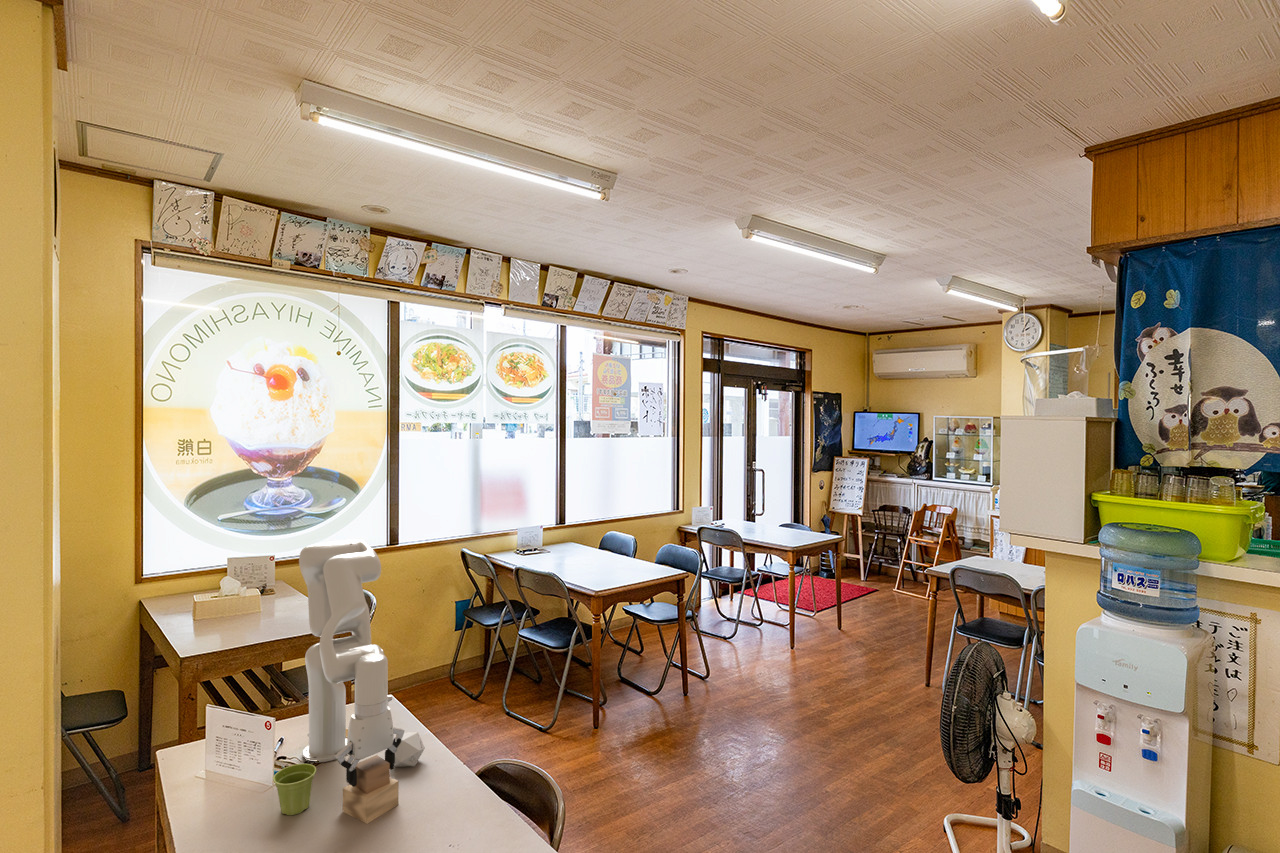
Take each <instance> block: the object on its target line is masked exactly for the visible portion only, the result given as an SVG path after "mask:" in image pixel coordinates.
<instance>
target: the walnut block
mask: <svg viewBox="0 0 1280 853" xmlns="http://www.w3.org/2000/svg"><path fill="white" fill-rule="evenodd" d="M355 769H356V770H357V785H356V787H357V788H359V789H360V790H361V791H363V792H364V793H366V794H368V793H370V792H372V791H374V790H376V789H378V788H381V787H383V786H385V785H387V784H389V783H390V778H391V776H390V774H391V773H390V772H391V770H390V763H389V762H387V761H385V758H382V757H381V756H379V755H378V754H376V755H372V756H370V758H369V757H368V758H365V760H364V759H363V760H362V761H359V762H358V763H357V765H356V767H355Z"/></svg>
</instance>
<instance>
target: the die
mask: <svg viewBox="0 0 1280 853" xmlns="http://www.w3.org/2000/svg"><path fill="white" fill-rule="evenodd" d="M425 748H426V747H425V745H424V743H423V740H422V738H421V736H420V734H419V732H417V731H416V732H415V731H414V732H413V731H410V732H408V731H407V732H406V731H405V732H404V735H403V737H402V739H401V743H400V744H399V746H398V747H397V751H396V752H395V763H394V767H416V765H417V763H418V761H419V759H420V758H421V756H422V754H423V753H424V751H425Z"/></svg>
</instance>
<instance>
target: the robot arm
mask: <svg viewBox="0 0 1280 853" xmlns="http://www.w3.org/2000/svg"><path fill="white" fill-rule="evenodd" d="M298 556H299V558H298V566H299V569H300V570H299V571H300V574H301V575H302V578H303V580H304V583H305V585H306V588H307V599H308V600H307V601H308V602H307V603H308V604H307V605H308V620H309V622H308V624H309V629H310V633H311V634H312V635H313V636H314V637H319V642H317V643H315V644H313V645H311V646H310V647H309V648H308V649H307V650H306V652H305V654H304V655H305V656H304V662H305V668H306V674H307V681H308V734H307V738H308V745H307V746H305V747H304V748H303V750H302V758H303V757H305V758H306V759H310V760H317V761H319V762H318V763H326V762H330V761H335V760H336V761H337V762H338V764H339V765H340V766H342V767H343V768H345V771H346V772H345V775H346V776H345V777H346V778H345V780H346V783H347V784H348V785H352V786H353V787H355V786H356V785H357V770H356V769H355V767H356V765H357V763H359V762H360V760H364V759H367V758H369V757H372V756H375V754H376V755H377V754H379V753H381V752H383V751H384V760H385V761H387V762H389V763H390V771H392V770H394V769H395V765H394V763H395V752H396V751H397V747H398V746H399V744H400V743H401V739H402V737H403V735H404V732H406V731H405V730H404V729H402V728H400V727H395V726H394V723H393V717H392V712H391V708H390V706H389V702H391V701H392V700H393V696H392V695H391V694H389V693H388V692H389V690H388V685H389V682H388V680H389V679H388V678H389V677H388V676H389V672H388V670H389V668H388V666H389V663H388V662H389V660H388V657H387V656H386V655H385V651H384V650H383V649H382V648H381V646H379V645H378V644H373V643H372V631H371V630H372V628H371V627H372V626H371V614H370V608H369V604H368V603H367V601H366V600H367V599H366V598H365V593H364V589H363V584H364V583H369V582H375V581H377V580H378V579H379V578H380V577H381V575H382V564H381V559H380V558H379V556H378V553H377V552H376V551H375V550H374V549H373V548H372V547H371V546H370V545H369V544H368V543H367V542H366V541H365V540H363V539H360V538H357V539H356V538H355V539H347V540H345V539H344V540H337V541H327V542H320V543H318V542H317V543H314V544H310V545H307V546H304V547H303V548H302V549H301V551H300V553H299V555H298ZM349 632H350V633H351V635H349V636H345V637H340V638H334V636H335V635H340V634H345V633H349ZM352 680H354V713H353V714H351V715H350V719H349V725H348V730H347V729H346V728H347V727H346V724H347V723H346V716H347V715H346V714H347V712H346V710H347V709H346V708H347V707H346V705H347V704H346V703H347V702H346V701H347V697H346V695H347V694H346V693H347V692H346V685H345V684H344V682H348V681H352ZM346 730H347V732H346ZM346 733H347V736H346ZM394 735H395V737H394ZM346 737H347V738H346ZM347 755H348V757H347V759H345V757H346V756H347Z"/></svg>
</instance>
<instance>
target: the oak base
mask: <svg viewBox="0 0 1280 853" xmlns="http://www.w3.org/2000/svg"><path fill="white" fill-rule="evenodd" d="M399 788H400V787H399V780H397V779H395V778H392V777H390V783H389V784H387V785H385V786H383V787H381V788H378V789H376V790H374V791H372V792H370V793H368V794H366V793H364V792H363V791H361V790H360V789H359V788H357V787H356V786H355V787H353V786H352V785H350V784H348V785H346V786H344V787H342V812H343V813H344V814H346V815H349V816H351V817H353V818H355V819H357V820H358V821H361V822H363V823H364V824H369V823H371V822H372V821H373V820H375V819H377V818H379V817H381V816H382V815H384V814H386V813H387V812H388V811H390V810H392V809H393V808H395V807H397V806H398V805H399Z"/></svg>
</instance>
